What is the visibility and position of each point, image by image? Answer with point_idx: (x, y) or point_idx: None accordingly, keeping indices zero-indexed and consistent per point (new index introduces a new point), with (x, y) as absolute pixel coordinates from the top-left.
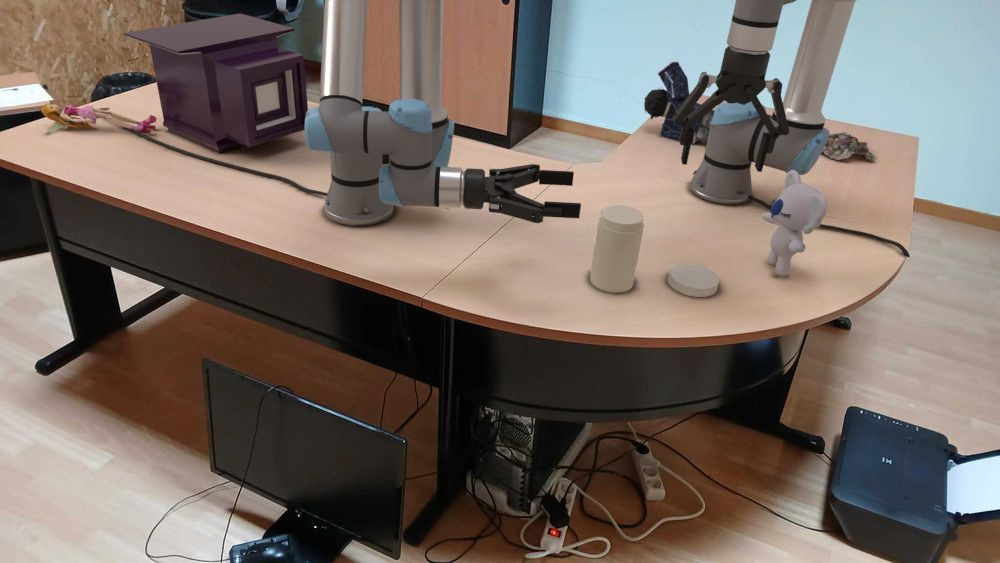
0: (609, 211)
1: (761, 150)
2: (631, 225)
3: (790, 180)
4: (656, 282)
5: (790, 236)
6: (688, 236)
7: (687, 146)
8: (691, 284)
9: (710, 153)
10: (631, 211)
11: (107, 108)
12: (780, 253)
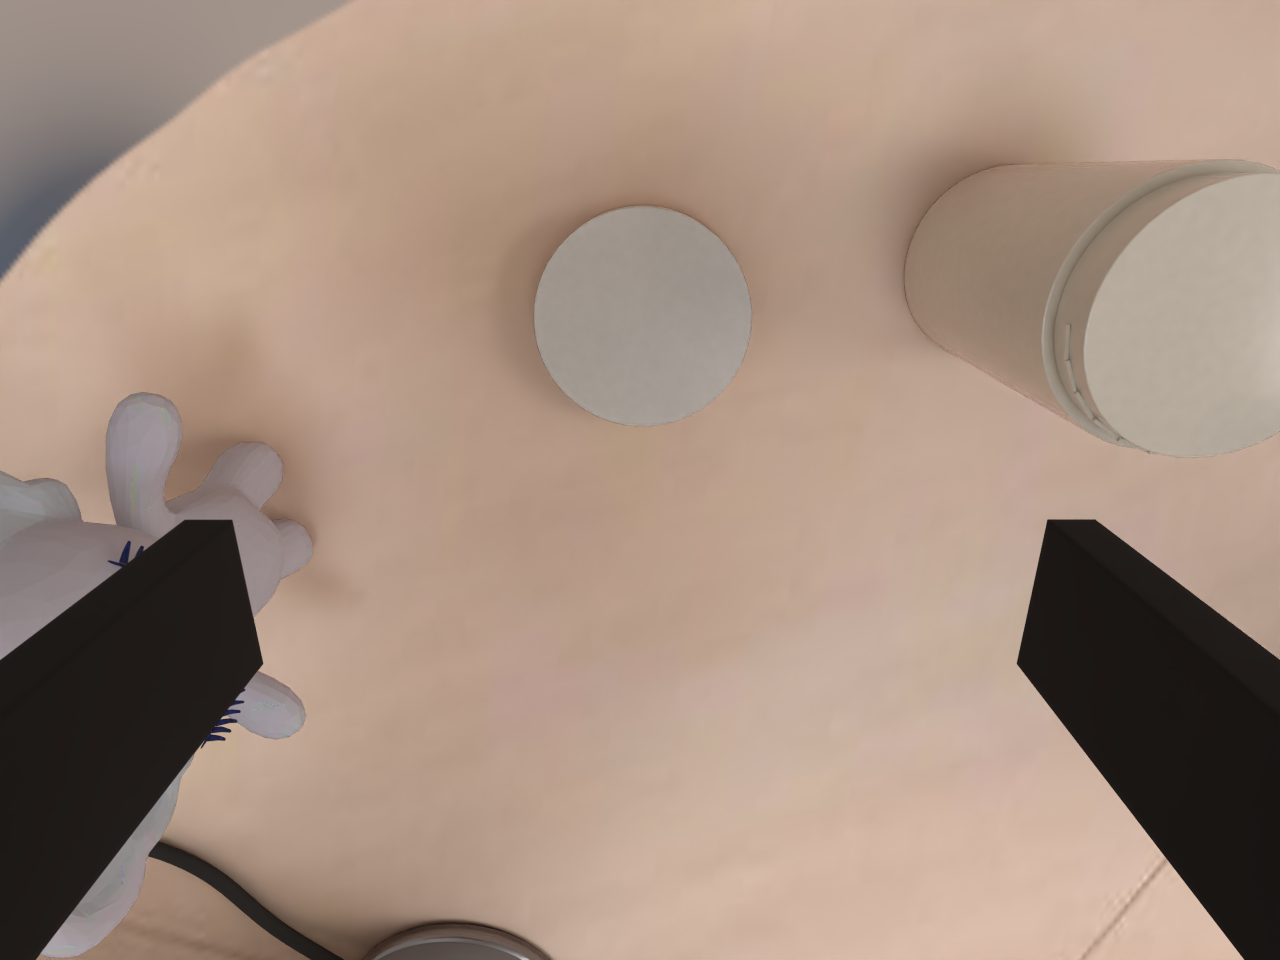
0: None
1: (93, 724)
2: (1199, 185)
3: None
4: (798, 296)
5: (167, 530)
6: (614, 683)
7: (1240, 646)
8: (666, 238)
9: None
10: (1151, 381)
11: None
12: (241, 494)
